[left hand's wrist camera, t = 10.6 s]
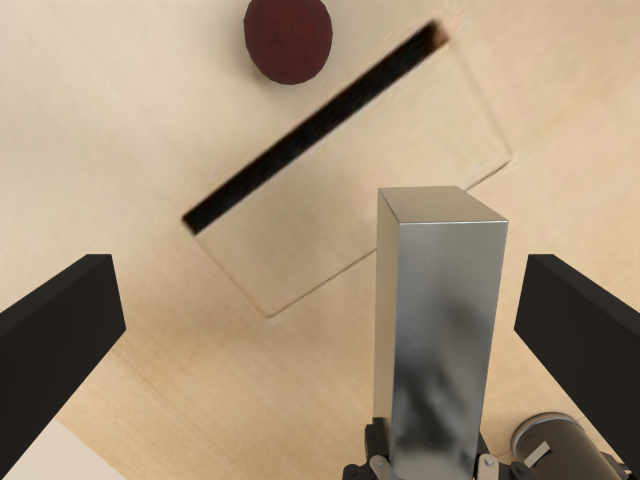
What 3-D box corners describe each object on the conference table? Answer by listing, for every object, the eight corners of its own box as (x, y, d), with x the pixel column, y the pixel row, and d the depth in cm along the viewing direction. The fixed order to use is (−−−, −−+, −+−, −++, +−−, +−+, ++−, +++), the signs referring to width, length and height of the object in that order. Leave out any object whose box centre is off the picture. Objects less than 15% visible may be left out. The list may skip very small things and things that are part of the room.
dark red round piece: (283, 101, 38) (276, 102, 31) (234, 26, 36) (215, 10, 29) (347, 54, 37) (354, 45, 30) (300, -27, 34) (296, -56, 28)
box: (377, 187, 29) (398, 223, 20) (456, 185, 28) (509, 220, 20) (373, 420, 36) (387, 514, 28) (436, 420, 36) (468, 513, 28)
